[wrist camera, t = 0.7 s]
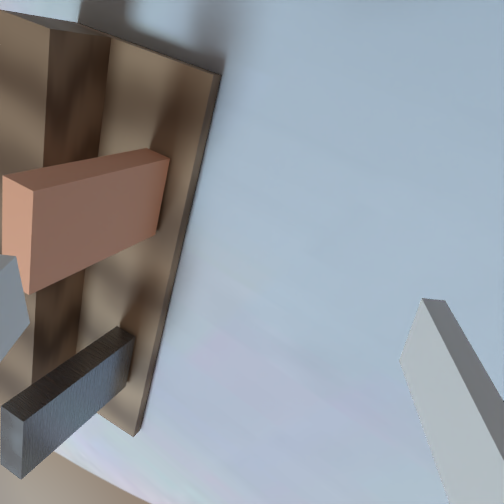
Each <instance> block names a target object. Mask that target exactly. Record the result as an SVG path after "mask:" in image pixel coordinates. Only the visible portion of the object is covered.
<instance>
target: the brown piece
mask: <svg viewBox="0 0 504 504" xmlns="http://www.w3.org/2000/svg"><path fill="white" fill-rule="evenodd" d="M220 79H221V75H219V74H216V73H214V72H211V71H208V70H205V69H203V68H200V67H197V66H194V65H192V64H189V63H186V62H183V61H181V60H178V59H175V58H172V57H170V56H167V55H164V54H161V53H159V52H156V51H153V50H150V49H148V48H145V47H142V46H139V45H137V44H134V43H131V42H128V41H126V40H123V39H120V38H118V37H115V36H112V35H109V34H107V33H104V32H101V31H98V30H96V29H93V28H90V27H87V26H85V25H82V24H79V23H76V22H70V21H64V20H58V19H52V18H46V17H40V16H34V15H28V14H23V13H17V12H11V11H5V10H0V254H1V255H2V176H3V175H7V174H12V173H17V172H23V171H28V170H33V169H38V168H44V167H49V166H54V165H59V164H65V163H70V162H75V161H80V160H86V159H91V158H96V157H101V156H107V155H112V154H117V153H122V152H128V151H133V150H138V149H143V148H148V149H150V150H152V151H155V152H157V153H159V154H161V155H164V156H166V157H168V158H170V161H169V166H168V172H167V177H166V182H165V187H164V192H163V197H162V203H161V208H160V213H159V218H158V223H157V228H156V234H155V235H154V236H152V237H149V238H147V239H145V240H143V241H141V242H139V243H137V244H135V245H133V246H131V247H129V248H126V249H124V250H122V251H120V252H118V253H116V254H114V255H112V256H110V257H108V258H106V259H103V260H101V261H99V262H97V263H95V264H93V265H91V266H89V267H87V268H85V269H83V270H81V271H78V272H76V273H74V274H72V275H70V276H68V277H66V278H64V279H62V280H60V281H58V282H55V283H53V284H51V285H49V286H47V287H45V288H43V289H41V290H39V291H37V292H35V293H32V294H30V295H28V294H26V293H25V292H24V296H25V301H26V306H27V311H28V315H29V320H30V324H29V325H28V326H27V328H26V329H25V330H24V332H23V333H22V334H21V336H20V337H19V338H18V340H17V341H16V342H15V344H14V345H13V346H12V347H11V349H10V350H9V351H8V353H7V354H6V355H5V357H4V358H3V359H2V361H1V362H0V408H1V405H3V404H4V403H6V402H7V401H9V400H10V399H12V398H13V397H14V396H16V395H17V394H19V393H20V392H22V391H23V390H25V389H26V388H28V387H29V386H30V385H32V384H33V383H35V382H36V381H38V380H39V379H41V378H42V377H43V376H45V375H46V374H48V373H49V372H51V371H52V370H54V369H55V368H57V367H58V366H59V365H61V364H62V363H64V362H65V361H67V360H68V359H70V358H71V357H72V356H74V355H75V354H77V353H78V352H80V351H81V350H83V349H84V348H86V347H87V346H88V345H90V344H91V343H93V342H94V341H96V340H97V339H99V338H100V337H101V336H103V335H104V334H106V333H107V332H109V331H110V330H112V329H113V328H115V327H116V326H118V327H120V328H122V329H123V330H125V331H127V332H128V333H130V334H132V335H134V336H135V342H134V347H133V352H132V358H131V363H130V368H129V373H128V378H127V383H126V387H125V388H124V389H123V390H121V391H120V392H119V393H118V394H117V395H116V396H115V397H114V398H112V399H111V400H110V401H109V402H108V403H107V404H106V405H105V406H103V407H102V408H101V409H100V410H99V411H98V412H97V413H98V414H100V415H101V416H103V417H104V418H106V419H107V420H109V421H110V422H111V423H113V424H114V425H116V426H117V427H119V428H120V429H122V430H123V431H125V432H126V433H128V434H129V435H131V436H132V437H134V436H135V435H136V434H137V433H138V432H139V431H140V427H141V423H142V419H143V414H144V410H145V406H146V401H147V397H148V393H149V388H150V384H151V379H152V375H153V371H154V366H155V362H156V358H157V353H158V349H159V345H160V340H161V336H162V332H163V327H164V323H165V318H166V314H167V310H168V305H169V301H170V297H171V292H172V288H173V284H174V279H175V275H176V271H177V266H178V262H179V257H180V253H181V249H182V244H183V240H184V236H185V231H186V227H187V223H188V218H189V214H190V210H191V205H192V201H193V196H194V192H195V188H196V183H197V179H198V175H199V170H200V166H201V162H202V157H203V153H204V149H205V144H206V140H207V135H208V131H209V127H210V122H211V118H212V114H213V109H214V105H215V101H216V96H217V92H218V88H219V83H220Z"/></svg>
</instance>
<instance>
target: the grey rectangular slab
mask: <svg viewBox="0 0 504 504" xmlns="http://www.w3.org/2000/svg"><path fill="white" fill-rule="evenodd" d="M134 342H135V336H134V335H132V334H130V333H128V332H127V331H125V330H123V329H122V328H120V327H118V326H116V327H115V328H113V329H112V330H110V331H109V332H107V333H106V334H104V335H103V336H101V337H100V338H99V339H97V340H96V341H94V342H93V343H91V344H90V345H88V346H87V347H86V348H84V349H83V350H81V351H80V352H78V353H77V354H75V355H74V356H72V357H71V358H70V359H68V360H67V361H65V362H64V363H62V364H61V365H59V366H58V367H57V368H55V369H54V370H52V371H51V372H49V373H48V374H46V375H45V376H43V377H42V378H41V379H39V380H38V381H36V382H35V383H33V384H32V385H30V386H29V387H28V388H26V389H25V390H23V391H22V392H20V393H19V394H17V395H16V396H14V397H13V398H12V399H10V400H9V401H7V402H6V403H4V404H3V405H1V465H3V466H4V467H5V468H7V469H8V470H9V471H10V472H12V473H13V474H14V475H16V476H17V477H18V478H19V479H22V478H24V477H25V476H26V475H27V474H28V473H29V472H30V471H31V470H33V469H34V468H35V467H36V466H37V465H38V464H39V463H40V462H41V461H43V460H44V459H45V458H46V457H47V456H48V455H49V454H51V453H52V452H53V451H54V450H55V449H56V448H57V447H58V446H60V445H61V444H62V443H63V442H64V441H65V440H66V439H67V438H69V437H70V436H71V435H72V434H73V433H74V432H75V431H76V430H78V429H79V428H80V427H81V426H82V425H83V424H84V423H85V422H87V421H88V420H89V419H90V418H91V417H92V416H93V415H94V414H96V413H97V412H98V411H99V410H100V409H101V408H102V407H103V406H105V405H106V404H107V403H108V402H109V401H110V400H111V399H112V398H114V397H115V396H116V395H117V394H118V393H119V392H120V391H121V390H123V389H124V388H125V387H126V383H127V378H128V373H129V368H130V363H131V358H132V352H133V347H134Z"/></svg>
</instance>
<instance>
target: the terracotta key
mask: <svg viewBox="0 0 504 504" xmlns="http://www.w3.org/2000/svg"><path fill="white" fill-rule="evenodd" d="M169 161H170V158H168V157H166V156H164V155H161V154H159V153H157V152H155V151H152V150H150V149H148V148H143V149H138V150H133V151H128V152H122V153H117V154H112V155H107V156H101V157H96V158H91V159H86V160H80V161H75V162H70V163H65V164H59V165H54V166H49V167H44V168H38V169H33V170H28V171H23V172H17V173H12V174H7V175H3V176H2V255H10V256H16V258H17V263H18V268H19V272H20V277H21V282H22V287H23V292H25V293H26V294H28V295H30V294H32V293H35V292H37V291H39V290H41V289H43V288H45V287H47V286H49V285H51V284H53V283H55V282H58V281H60V280H62V279H64V278H66V277H68V276H70V275H72V274H74V273H76V272H78V271H81V270H83V269H85V268H87V267H89V266H91V265H93V264H95V263H97V262H99V261H101V260H103V259H106V258H108V257H110V256H112V255H114V254H116V253H118V252H120V251H122V250H124V249H126V248H129V247H131V246H133V245H135V244H137V243H139V242H141V241H143V240H145V239H147V238H149V237H152V236H154V235H155V234H156V228H157V223H158V218H159V213H160V208H161V203H162V197H163V192H164V187H165V182H166V177H167V172H168V166H169Z"/></svg>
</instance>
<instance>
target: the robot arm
mask: <svg viewBox="0 0 504 504" xmlns="http://www.w3.org/2000/svg"><path fill="white" fill-rule="evenodd" d="M29 324H30V320H29V315H28V311H27V306H26V301H25V296H24V292H23V287H22V282H21V277H20V272H19V268H18V263H17V258H16V256H10V255H1V254H0V362H1V361H2V359H3V358H4V357H5V355H6V354H7V353H8V351H9V350H10V349H11V347H12V346H13V345H14V344H15V342H16V341H17V340H18V338H19V337H20V336H21V334H22V333H23V332H24V330H25V329H26V328H27V326H28V325H29ZM399 362H400V365H401V368H402V371H403V373H404V376H405V379H406V382H407V385H408V388H409V390H410V393H411V396H412V399H413V402H414V405H415V407H416V410H417V413H418V416H419V419H420V422H421V424H422V427H423V430H424V433H425V436H426V439H427V441H428V444H429V447H430V450H431V453H432V456H433V458H434V461H435V464H436V467H437V470H438V473H439V475H440V478H441V481H442V484H443V487H444V490H445V492H446V495H447V498H448V501H449V504H504V401H503V400H502V398H501V396H500V395H499V393H498V391H497V389H496V388H495V386H494V384H493V382H492V381H491V379H490V377H489V376H488V374H487V372H486V370H485V369H484V367H483V365H482V363H481V362H480V360H479V358H478V357H477V355H476V353H475V351H474V350H473V348H472V346H471V344H470V343H469V341H468V339H467V338H466V336H465V334H464V332H463V331H462V329H461V327H460V326H459V324H458V322H457V320H456V319H455V317H454V315H453V313H452V312H451V310H450V308H449V307H448V305H447V303H446V301H444V300H434V299H425V298H422V299H421V302H420V304H419V307H418V310H417V312H416V315H415V318H414V321H413V323H412V326H411V329H410V332H409V334H408V337H407V340H406V343H405V345H404V348H403V351H402V354H401V356H400V359H399Z"/></svg>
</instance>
